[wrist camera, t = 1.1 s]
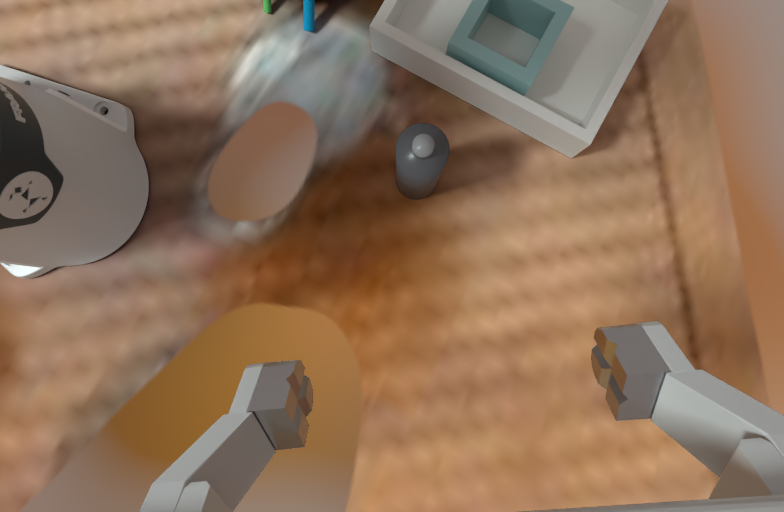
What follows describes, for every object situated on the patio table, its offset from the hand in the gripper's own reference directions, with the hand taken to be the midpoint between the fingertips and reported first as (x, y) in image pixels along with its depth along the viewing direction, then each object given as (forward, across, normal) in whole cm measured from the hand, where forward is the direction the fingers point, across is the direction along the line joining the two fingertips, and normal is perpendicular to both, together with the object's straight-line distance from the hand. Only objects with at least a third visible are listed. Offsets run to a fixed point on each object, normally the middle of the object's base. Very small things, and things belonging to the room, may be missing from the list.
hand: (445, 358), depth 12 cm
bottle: (+29, +1, +8) cm, 30 cm away
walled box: (+38, -10, -1) cm, 40 cm away
